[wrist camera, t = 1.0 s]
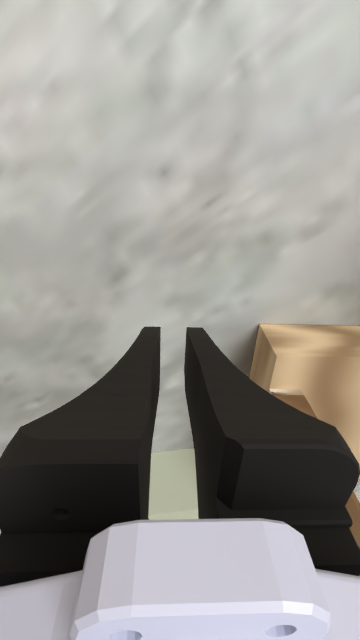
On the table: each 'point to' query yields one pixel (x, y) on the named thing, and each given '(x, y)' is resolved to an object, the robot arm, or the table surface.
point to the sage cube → (173, 485)
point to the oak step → (314, 371)
